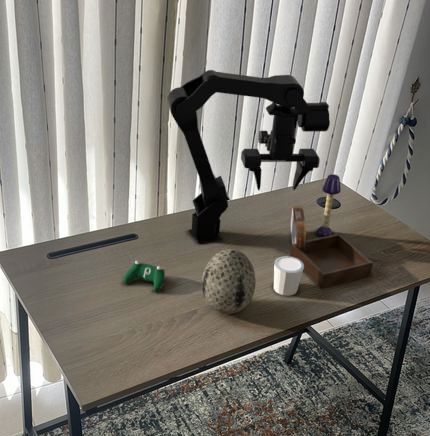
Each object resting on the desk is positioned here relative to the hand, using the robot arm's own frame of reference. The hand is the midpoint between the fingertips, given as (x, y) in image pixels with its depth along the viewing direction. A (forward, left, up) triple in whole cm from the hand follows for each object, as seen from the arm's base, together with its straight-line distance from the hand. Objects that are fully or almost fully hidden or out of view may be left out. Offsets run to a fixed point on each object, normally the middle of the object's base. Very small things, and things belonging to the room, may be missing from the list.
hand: (276, 189), depth 171 cm
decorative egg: (-26, -25, -13) cm, 38 cm away
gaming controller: (-39, -9, -13) cm, 42 cm away
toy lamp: (+14, -5, -13) cm, 20 cm away
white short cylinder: (-9, -23, -13) cm, 28 cm away
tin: (+4, -7, -13) cm, 15 cm away
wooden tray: (+6, -19, -13) cm, 24 cm away
